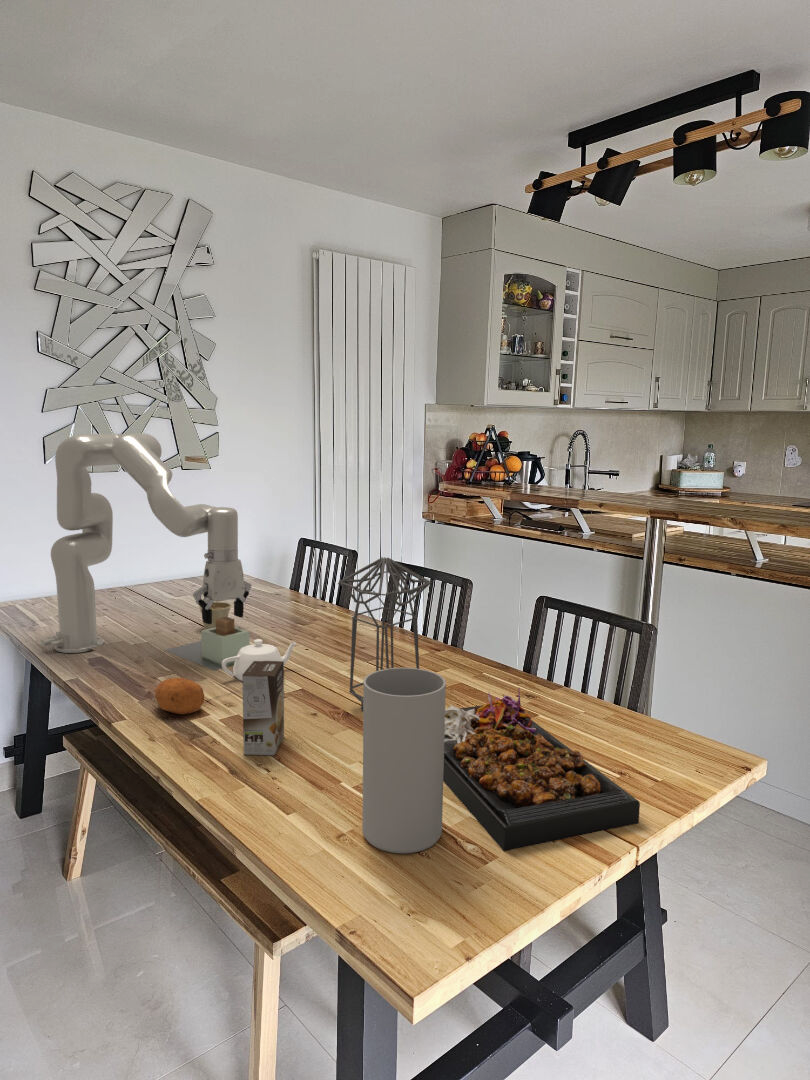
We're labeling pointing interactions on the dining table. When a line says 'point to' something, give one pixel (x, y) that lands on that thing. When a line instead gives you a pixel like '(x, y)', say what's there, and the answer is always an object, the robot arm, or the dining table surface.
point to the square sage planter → (222, 645)
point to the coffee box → (263, 707)
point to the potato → (179, 695)
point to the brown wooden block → (225, 626)
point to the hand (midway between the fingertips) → (223, 619)
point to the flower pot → (217, 613)
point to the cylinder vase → (403, 758)
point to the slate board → (193, 654)
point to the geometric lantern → (399, 574)
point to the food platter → (526, 778)
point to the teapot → (254, 657)
